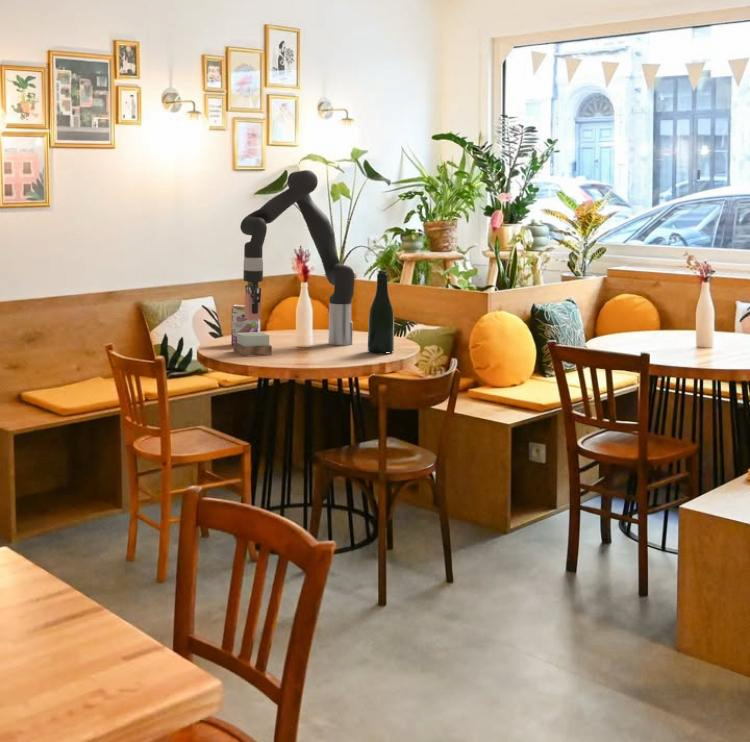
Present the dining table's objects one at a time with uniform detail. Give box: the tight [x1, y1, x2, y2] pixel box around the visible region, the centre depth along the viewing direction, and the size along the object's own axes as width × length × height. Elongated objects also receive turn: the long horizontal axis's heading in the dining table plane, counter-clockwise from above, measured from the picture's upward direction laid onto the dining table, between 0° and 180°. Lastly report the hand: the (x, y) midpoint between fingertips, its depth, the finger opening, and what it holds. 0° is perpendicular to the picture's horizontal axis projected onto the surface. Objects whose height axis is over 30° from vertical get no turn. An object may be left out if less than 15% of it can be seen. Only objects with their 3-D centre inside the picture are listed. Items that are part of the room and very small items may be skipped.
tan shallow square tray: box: [233, 343, 273, 357], centre depth 422 cm, size 12×12×4 cm
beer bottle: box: [367, 269, 395, 354], centre depth 429 cm, size 10×10×33 cm
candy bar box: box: [230, 304, 261, 346], centre depth 441 cm, size 11×5×16 cm, turn 84°
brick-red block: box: [244, 292, 262, 320], centre depth 419 cm, size 5×5×10 cm
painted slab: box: [237, 331, 270, 347], centre depth 422 cm, size 10×10×4 cm
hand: (252, 312), depth 420 cm, fingers closed on brick-red block, 5 cm apart
